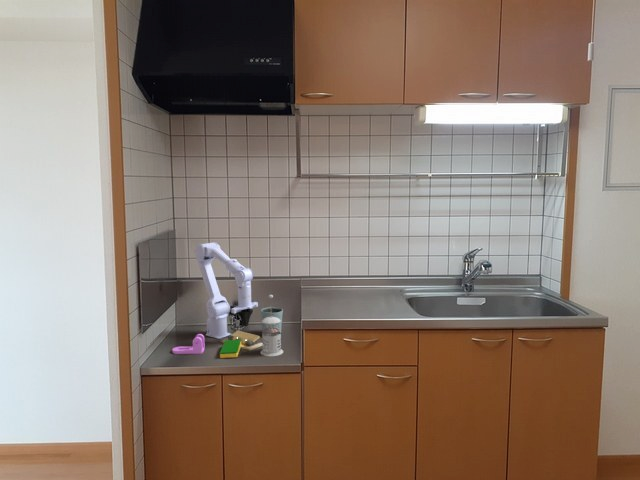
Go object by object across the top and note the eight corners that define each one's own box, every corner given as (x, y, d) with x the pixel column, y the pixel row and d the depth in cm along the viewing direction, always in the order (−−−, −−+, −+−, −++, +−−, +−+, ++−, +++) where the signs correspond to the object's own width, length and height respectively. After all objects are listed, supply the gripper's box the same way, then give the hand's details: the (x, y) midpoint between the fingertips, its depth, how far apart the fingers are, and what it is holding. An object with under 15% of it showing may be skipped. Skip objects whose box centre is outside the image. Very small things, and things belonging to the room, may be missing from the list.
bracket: (204, 349, 212) (204, 333, 212) (202, 353, 207) (201, 338, 206) (174, 349, 212) (173, 334, 211) (171, 354, 207) (170, 338, 206)
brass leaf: (260, 338, 218) (259, 335, 217) (250, 346, 213) (249, 342, 212) (238, 332, 226) (237, 329, 225) (228, 340, 221) (227, 336, 221)
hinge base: (263, 345, 217) (263, 338, 217) (249, 350, 210) (249, 344, 210) (235, 337, 228) (235, 331, 227) (221, 342, 221) (221, 336, 220)
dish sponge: (220, 358, 201) (219, 352, 201) (225, 345, 215) (225, 340, 214) (237, 357, 201) (236, 351, 201) (241, 344, 215) (241, 339, 215)
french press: (262, 357, 202) (260, 298, 199) (258, 347, 213) (256, 291, 210) (285, 354, 205) (284, 296, 202) (280, 345, 216) (279, 290, 213)
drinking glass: (259, 332, 234) (258, 308, 233) (279, 330, 238) (278, 306, 237) (265, 339, 225) (264, 313, 223) (286, 336, 229) (285, 311, 227)
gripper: (239, 300, 210) (239, 331, 211) (262, 294, 221) (263, 323, 223) (227, 298, 214) (228, 328, 216) (251, 291, 225) (252, 320, 227)
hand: (245, 325), depth 219 cm, fingers closed
